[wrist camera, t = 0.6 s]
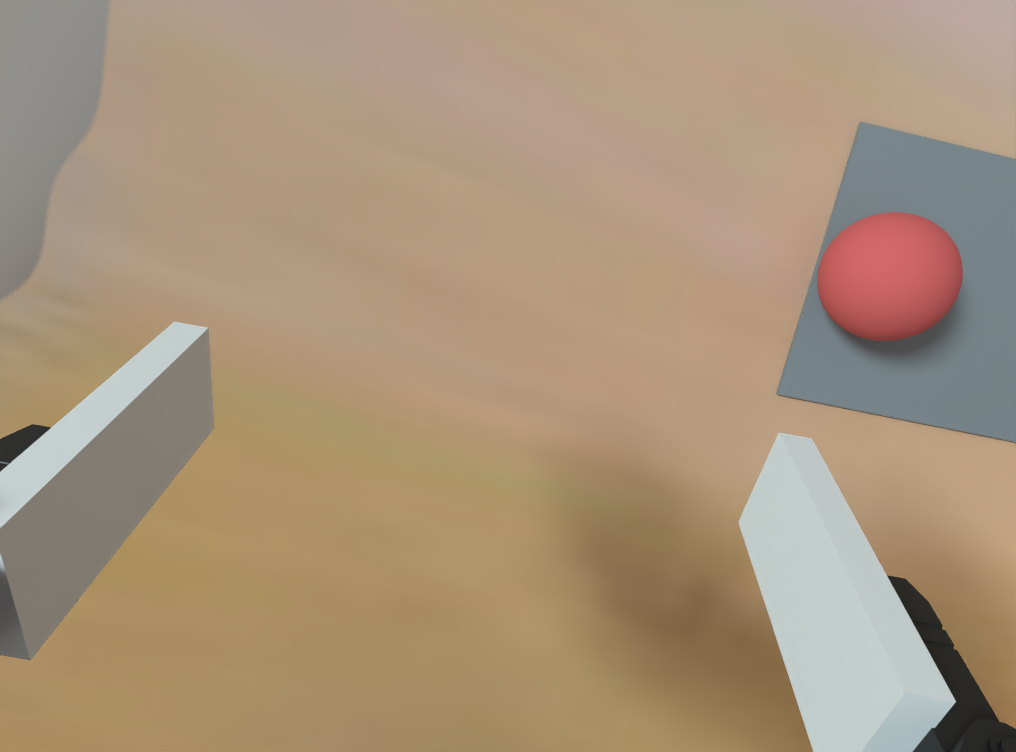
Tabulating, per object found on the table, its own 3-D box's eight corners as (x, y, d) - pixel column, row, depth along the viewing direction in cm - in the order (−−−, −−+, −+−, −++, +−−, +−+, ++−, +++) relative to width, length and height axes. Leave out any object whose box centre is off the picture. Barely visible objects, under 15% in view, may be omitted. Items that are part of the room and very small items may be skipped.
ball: (887, 339, 36) (966, 364, 30) (780, 317, 36) (840, 337, 30) (926, 226, 35) (1016, 228, 29) (816, 200, 34) (885, 198, 28)
